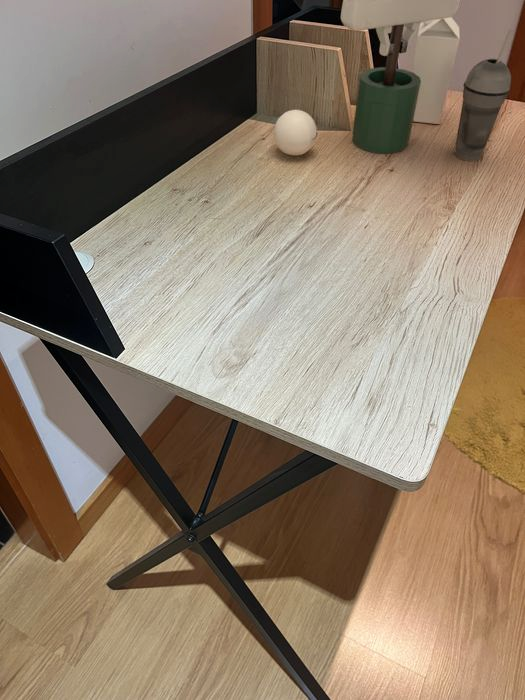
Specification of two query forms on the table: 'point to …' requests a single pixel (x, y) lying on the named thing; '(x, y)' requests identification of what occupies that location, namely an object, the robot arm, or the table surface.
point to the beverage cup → (481, 105)
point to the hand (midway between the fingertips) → (393, 53)
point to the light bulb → (295, 132)
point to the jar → (385, 111)
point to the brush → (393, 56)
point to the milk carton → (434, 66)
